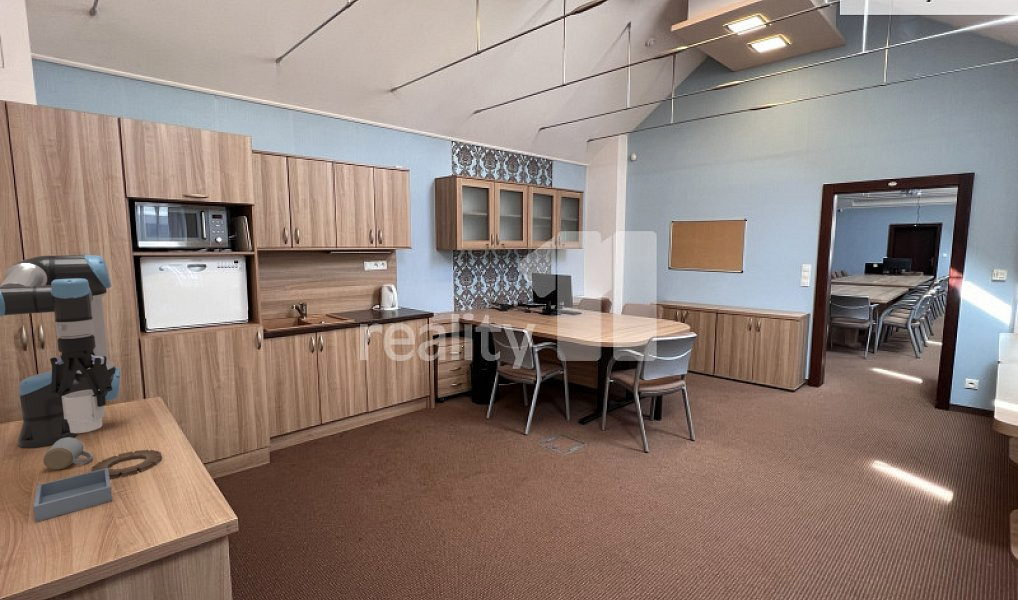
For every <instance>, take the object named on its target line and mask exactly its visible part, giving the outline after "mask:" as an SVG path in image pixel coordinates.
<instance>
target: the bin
mask: <svg viewBox="0 0 1018 600" xmlns="http://www.w3.org/2000/svg"><path fill="white" fill-rule="evenodd" d="M110 480H111V479H109V471H108V468H105V469H101V470H97V471H92V472H91V471H89V472H84V473H81V474H77V475H72V476H68V477H64V478H60V479H56V480H52V481H47V482H43V483H40V484H37V486H36V491H35V497H34V503H33V512H34V518H35V519H34V520H35V523H38V522H41V520H42V521H44V520H49V519H53V518H55V517H59V515H60V516H62V515H66V514H70V513H74V512H76V511H81V510H84V509H83V508H85V509H88V508H87V507H89V508H91V506H92V507H96V506H98V505H103V504H106V503H110V502H113V497H112V487H111V481H110ZM95 505H96V506H95ZM37 521H38V522H37Z"/></svg>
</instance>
